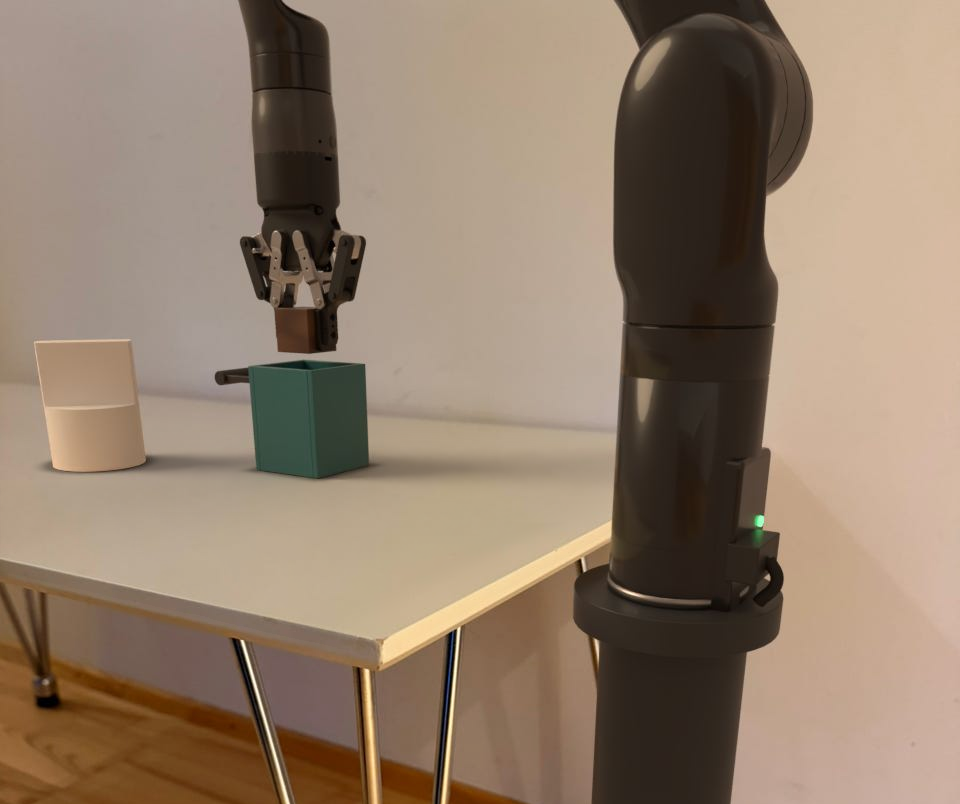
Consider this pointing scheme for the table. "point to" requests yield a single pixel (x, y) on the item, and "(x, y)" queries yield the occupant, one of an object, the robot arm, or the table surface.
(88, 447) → the base with upright slab
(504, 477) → the table surface
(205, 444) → the table surface
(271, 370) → the teal open storage bin
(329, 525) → the table surface
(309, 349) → the block
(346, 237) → the robot arm
